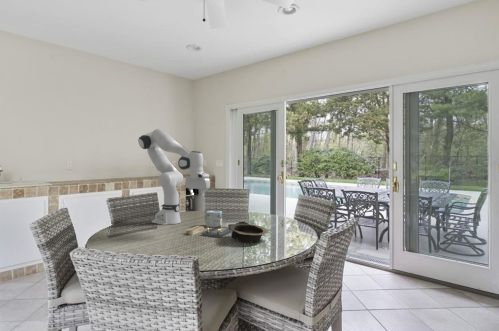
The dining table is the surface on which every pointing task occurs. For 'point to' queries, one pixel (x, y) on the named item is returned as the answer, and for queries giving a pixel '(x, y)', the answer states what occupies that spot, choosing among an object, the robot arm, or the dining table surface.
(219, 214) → the light bulb box
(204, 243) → the dining table surface
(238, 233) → the stone bowl
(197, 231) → the birch board
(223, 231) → the chassis
